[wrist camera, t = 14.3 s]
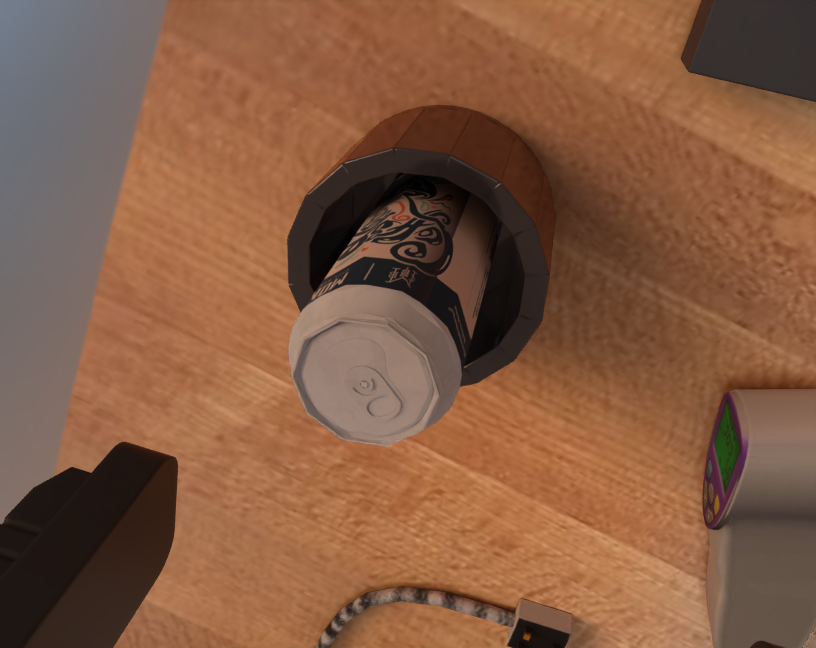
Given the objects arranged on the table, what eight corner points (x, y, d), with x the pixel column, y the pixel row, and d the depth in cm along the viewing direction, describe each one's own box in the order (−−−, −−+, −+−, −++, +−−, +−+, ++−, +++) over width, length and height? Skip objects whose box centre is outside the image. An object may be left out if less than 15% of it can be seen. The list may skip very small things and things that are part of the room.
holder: (305, 141, 30) (246, 190, 25) (520, 74, 27) (505, 114, 22) (379, 330, 33) (342, 407, 28) (577, 289, 30) (575, 367, 25)
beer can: (459, 135, 28) (385, 270, 18) (524, 239, 29) (491, 420, 19) (359, 198, 30) (240, 351, 20) (424, 292, 31) (346, 481, 21)
